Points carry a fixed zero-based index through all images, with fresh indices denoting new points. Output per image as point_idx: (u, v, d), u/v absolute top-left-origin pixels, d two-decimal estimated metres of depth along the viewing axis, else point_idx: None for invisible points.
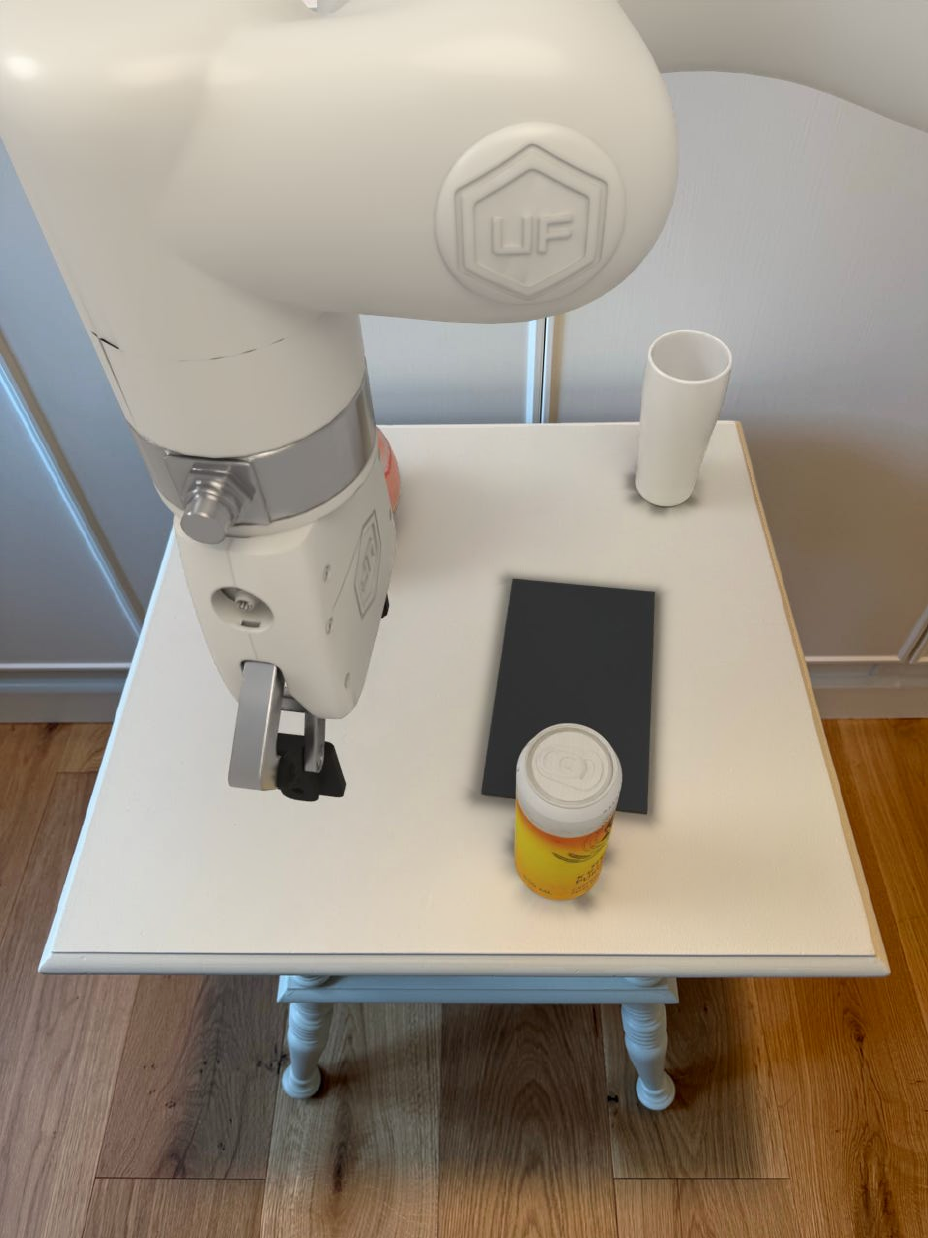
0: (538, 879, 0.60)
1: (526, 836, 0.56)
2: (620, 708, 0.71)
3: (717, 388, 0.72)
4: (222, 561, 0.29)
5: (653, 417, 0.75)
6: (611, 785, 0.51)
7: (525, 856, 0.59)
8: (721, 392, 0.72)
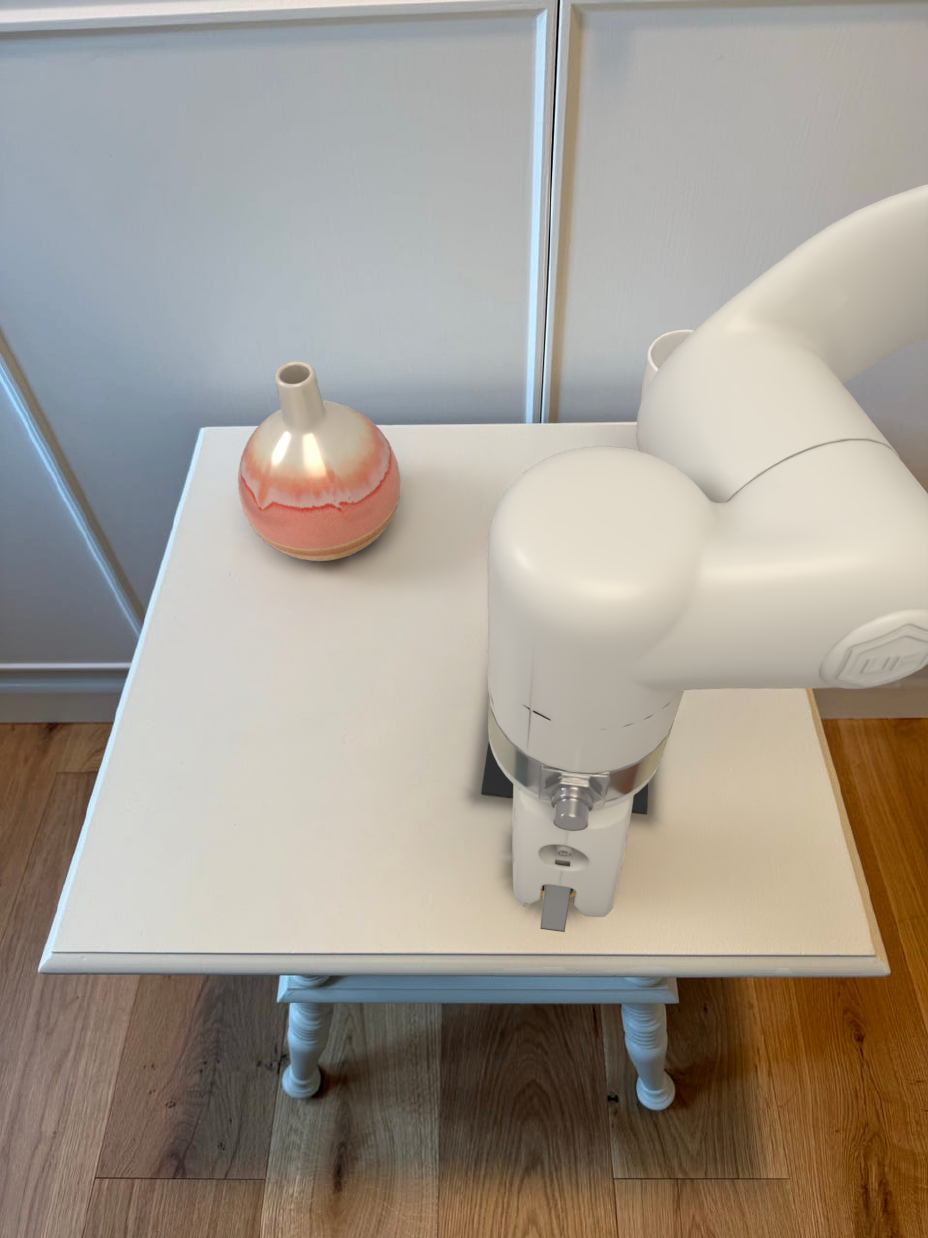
0: None
1: None
2: None
3: None
4: (561, 830, 0.37)
5: None
6: None
7: None
8: None
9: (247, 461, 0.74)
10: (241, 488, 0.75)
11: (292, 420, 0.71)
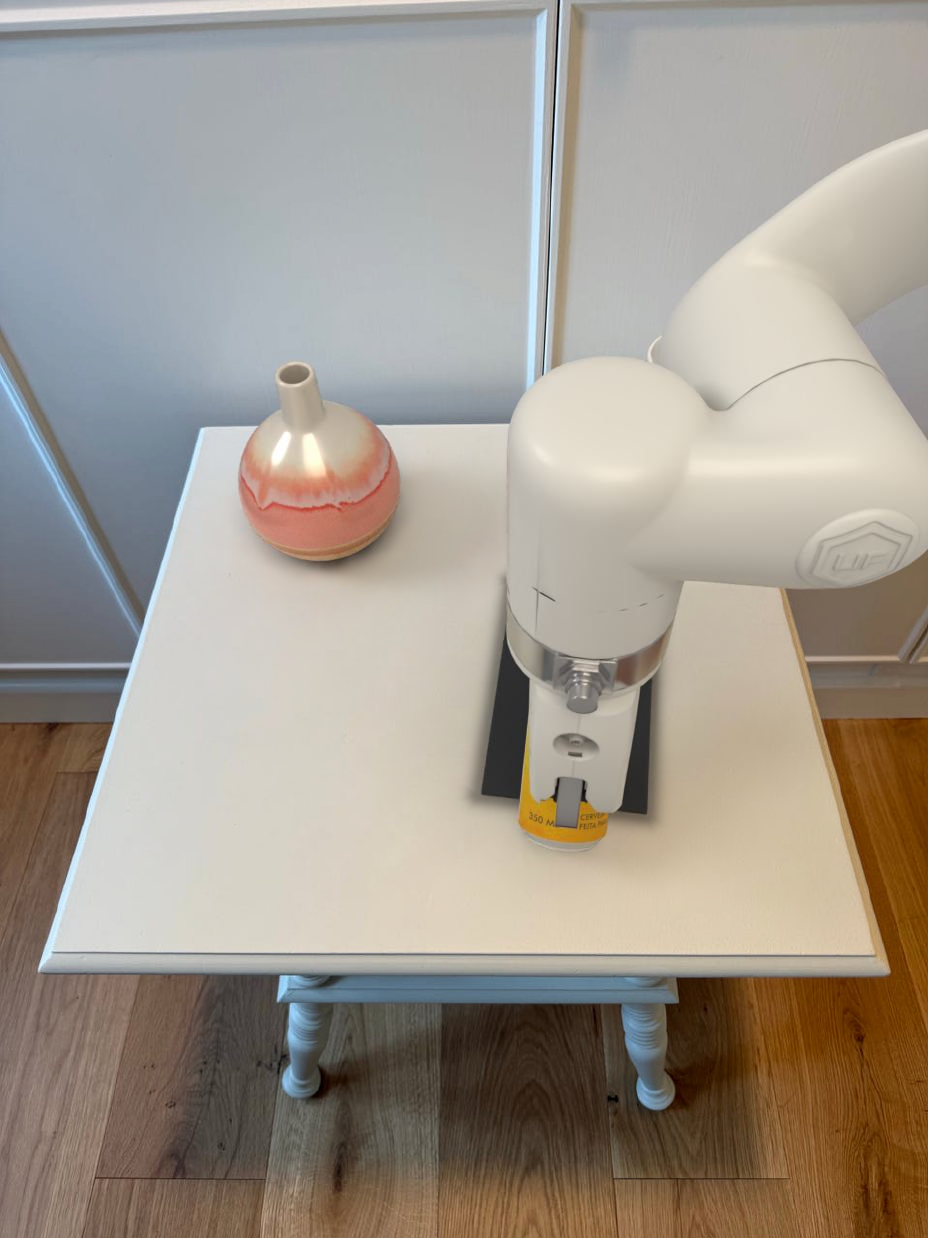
0: None
1: None
2: None
3: None
4: (574, 718, 0.41)
5: None
6: None
7: None
8: None
9: (247, 461, 0.74)
10: (241, 488, 0.75)
11: (292, 420, 0.71)
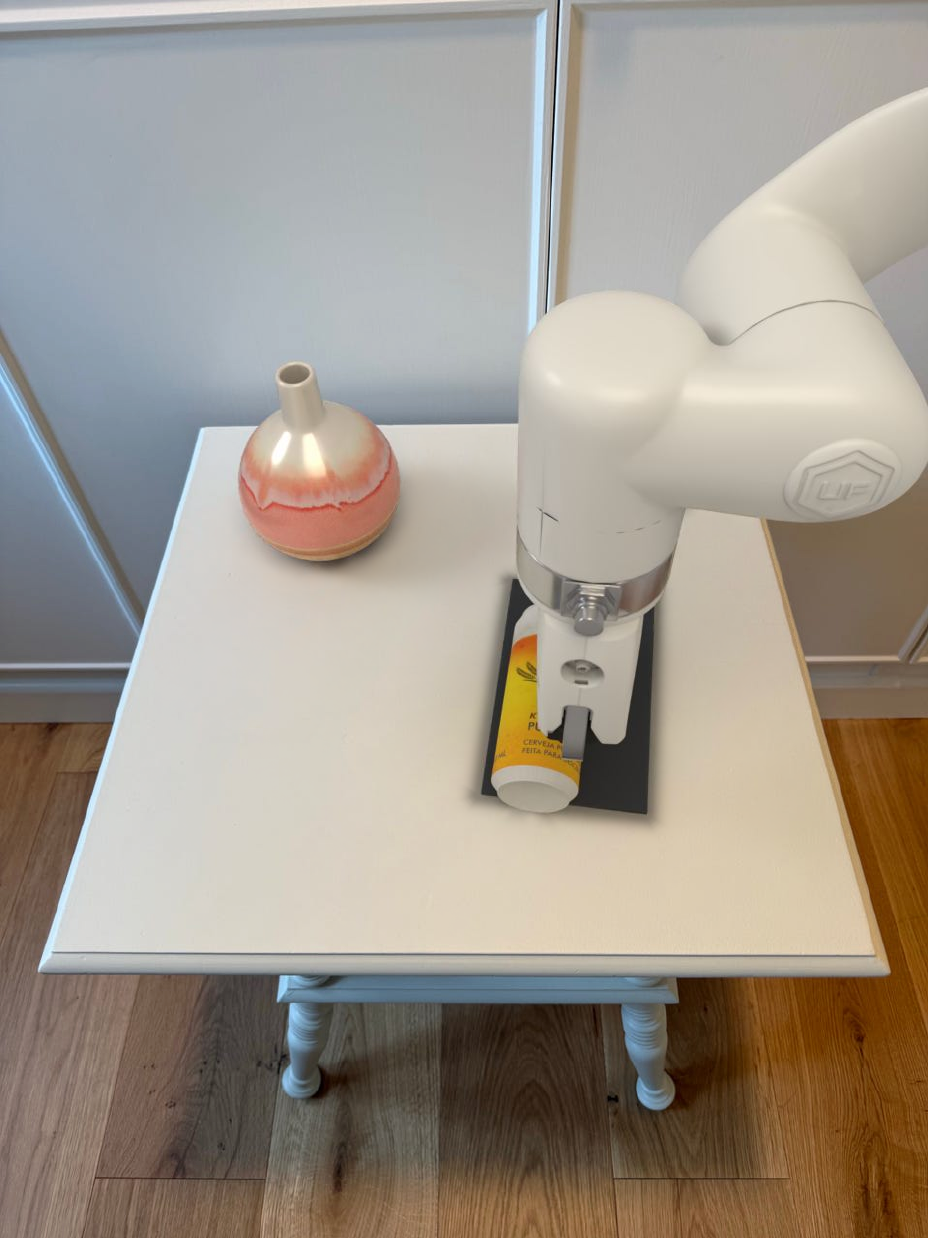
0: (501, 736, 0.65)
1: None
2: None
3: None
4: (580, 643, 0.43)
5: None
6: None
7: None
8: None
9: (247, 461, 0.74)
10: (241, 488, 0.75)
11: (292, 420, 0.71)
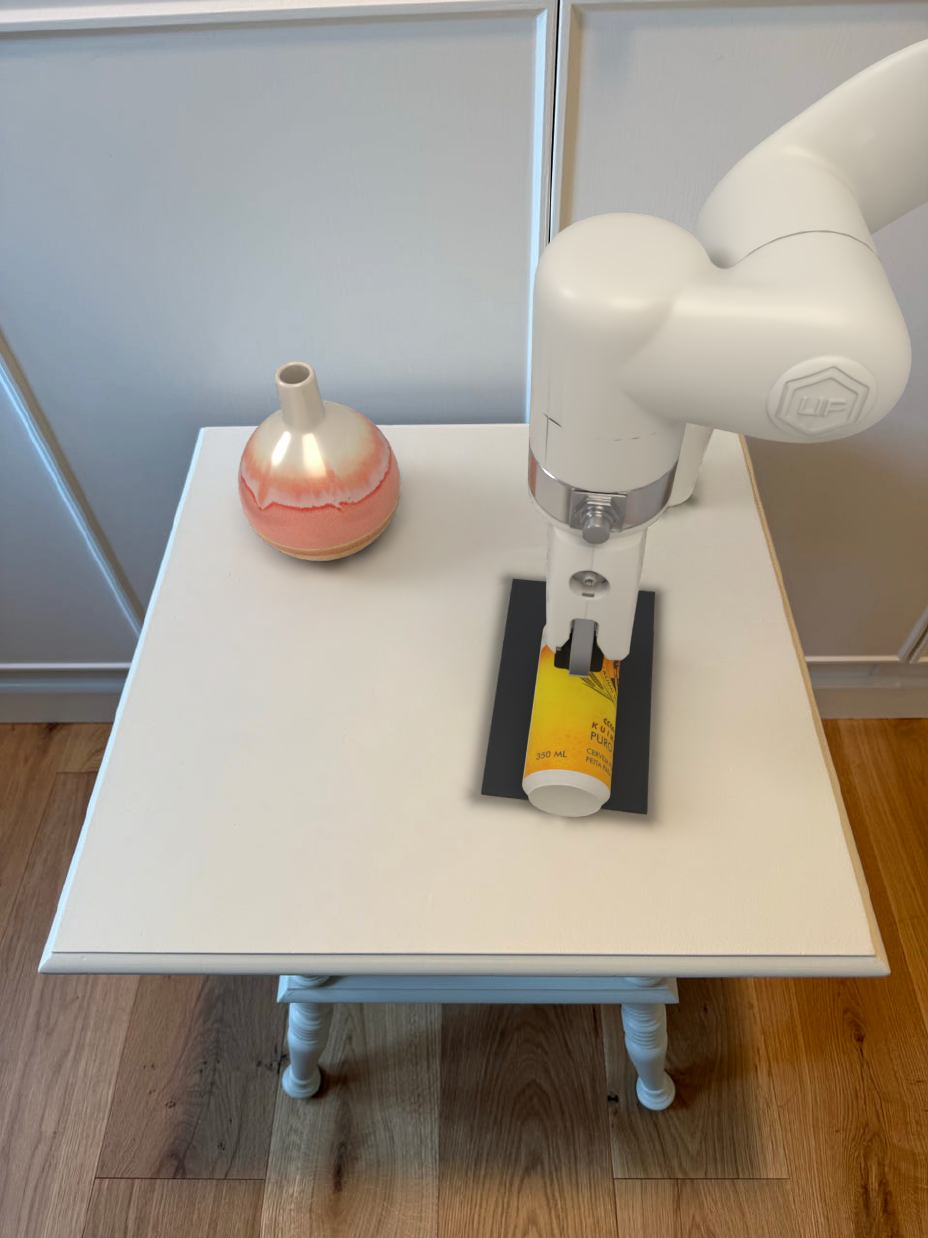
0: (555, 733, 0.63)
1: (549, 671, 0.67)
2: (620, 708, 0.71)
3: None
4: (588, 554, 0.46)
5: None
6: None
7: (544, 710, 0.65)
8: None
9: (247, 461, 0.74)
10: (241, 488, 0.75)
11: (292, 420, 0.71)
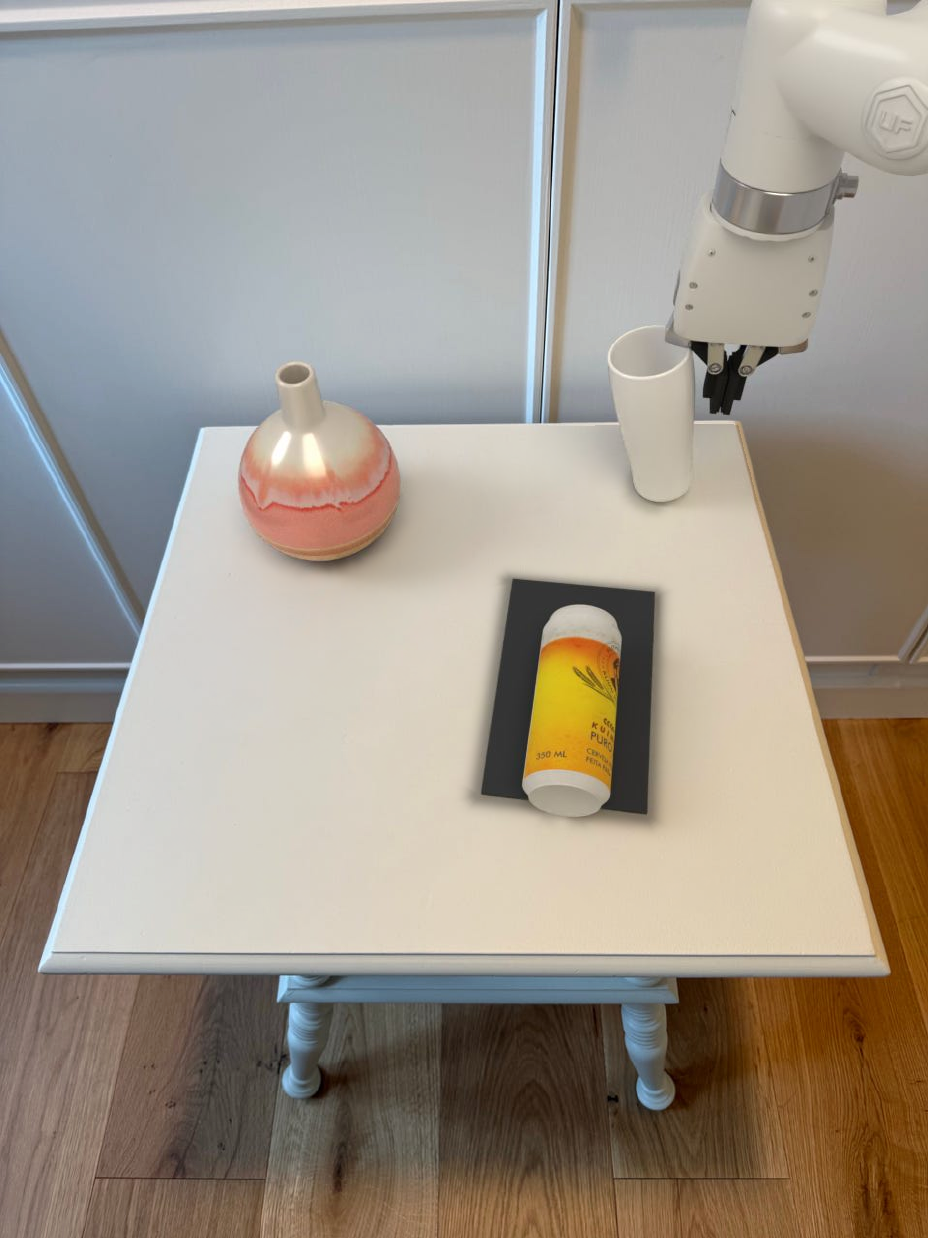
0: (555, 733, 0.63)
1: (549, 671, 0.67)
2: (620, 708, 0.71)
3: (678, 379, 0.71)
4: None
5: (625, 417, 0.75)
6: (615, 621, 0.71)
7: (544, 710, 0.65)
8: (685, 381, 0.72)
9: (247, 461, 0.74)
10: (241, 488, 0.75)
11: (292, 420, 0.71)
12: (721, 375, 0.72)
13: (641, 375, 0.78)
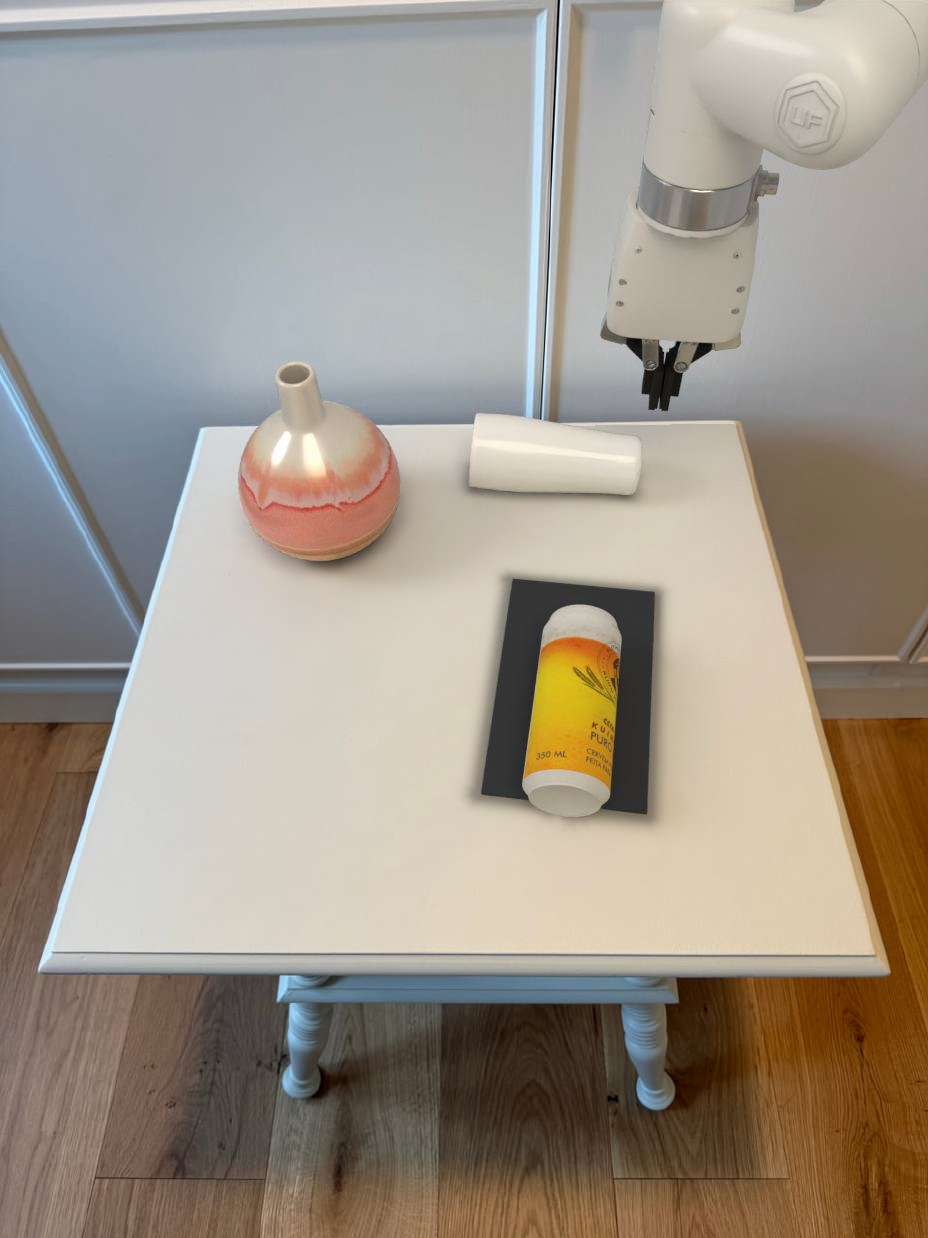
0: (555, 733, 0.63)
1: (549, 671, 0.67)
2: (620, 708, 0.71)
3: (482, 454, 0.80)
4: (758, 218, 0.63)
5: (517, 491, 0.84)
6: (615, 621, 0.71)
7: (544, 710, 0.65)
8: (491, 447, 0.80)
9: (247, 461, 0.74)
10: (241, 488, 0.75)
11: (292, 420, 0.71)
12: (657, 371, 0.73)
13: None
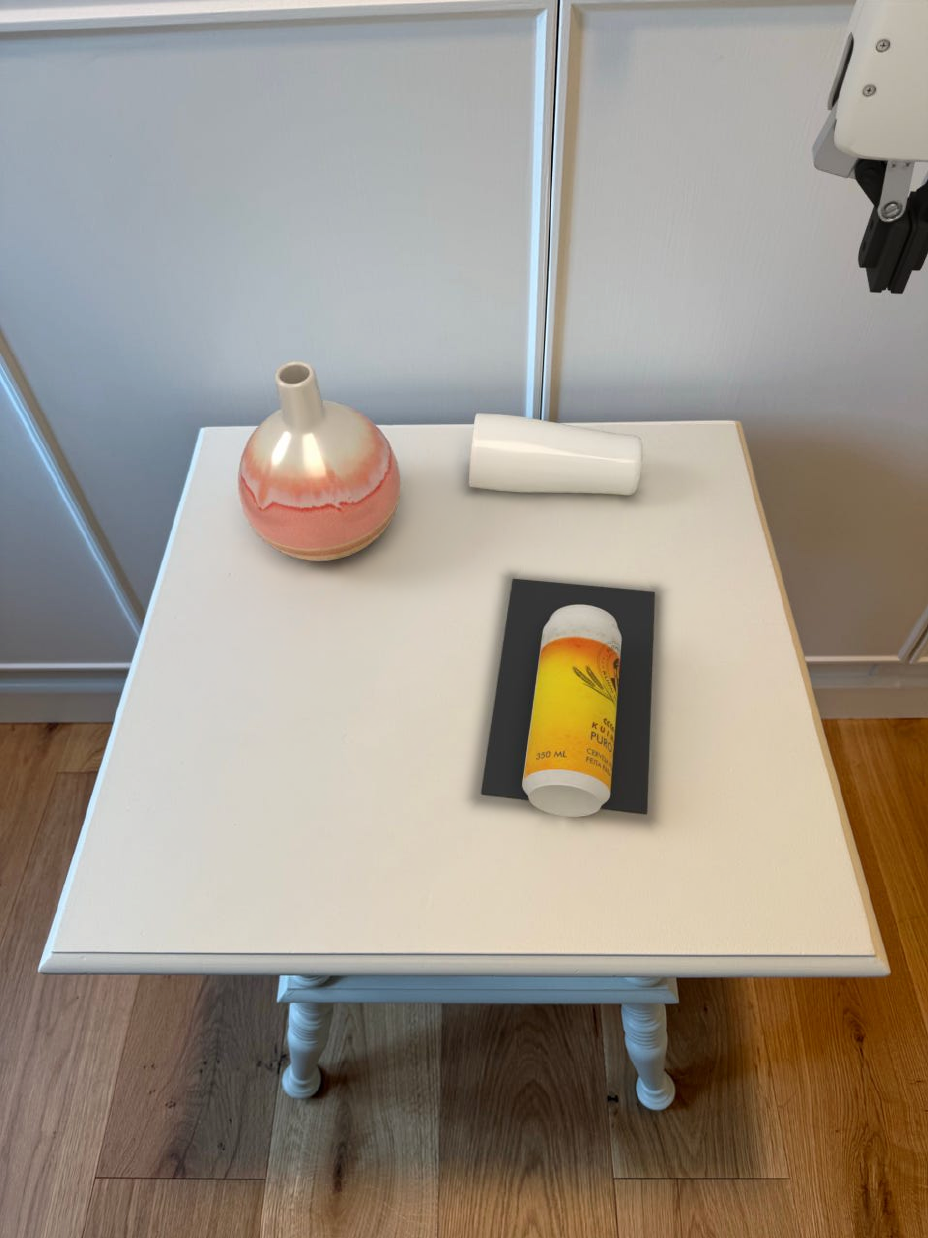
0: (555, 733, 0.63)
1: (549, 671, 0.67)
2: (620, 708, 0.71)
3: (482, 454, 0.80)
4: None
5: None
6: (615, 621, 0.71)
7: (544, 710, 0.65)
8: (491, 448, 0.80)
9: (247, 461, 0.74)
10: (241, 488, 0.75)
11: (292, 420, 0.71)
12: (900, 223, 0.46)
13: None
